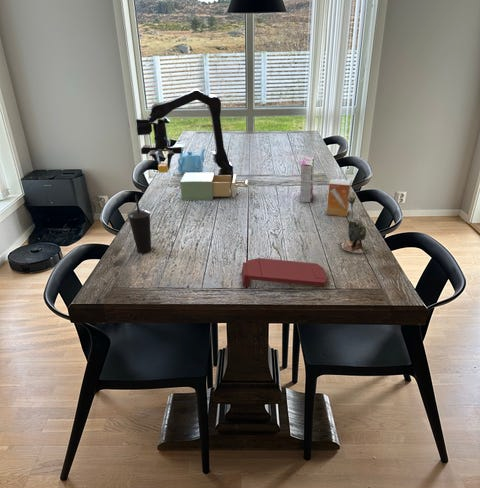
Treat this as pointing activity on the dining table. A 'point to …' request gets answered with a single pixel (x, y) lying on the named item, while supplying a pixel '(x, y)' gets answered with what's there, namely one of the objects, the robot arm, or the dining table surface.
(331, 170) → the dining table surface
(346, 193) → the small box
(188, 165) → the teapot
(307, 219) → the dining table surface
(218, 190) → the drawer
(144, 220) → the drinking cup
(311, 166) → the candy bar box
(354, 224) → the plant with pod
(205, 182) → the cabinet
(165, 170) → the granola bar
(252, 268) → the red flat block
